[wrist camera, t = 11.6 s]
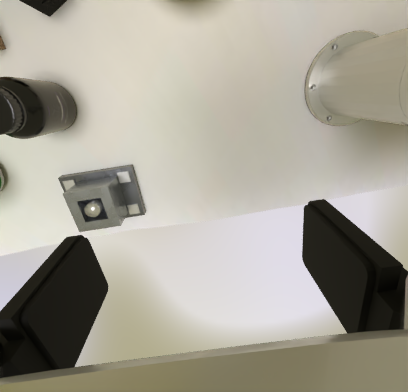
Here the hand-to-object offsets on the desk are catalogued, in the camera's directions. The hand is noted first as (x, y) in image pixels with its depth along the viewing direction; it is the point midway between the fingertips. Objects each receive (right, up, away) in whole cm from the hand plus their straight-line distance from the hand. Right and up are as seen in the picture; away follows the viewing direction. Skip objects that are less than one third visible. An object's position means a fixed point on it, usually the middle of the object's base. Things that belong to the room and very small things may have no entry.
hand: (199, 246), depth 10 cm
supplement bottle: (-22, +16, +24) cm, 37 cm away
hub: (-17, +2, +29) cm, 34 cm away
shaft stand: (-17, +2, +30) cm, 35 cm away
